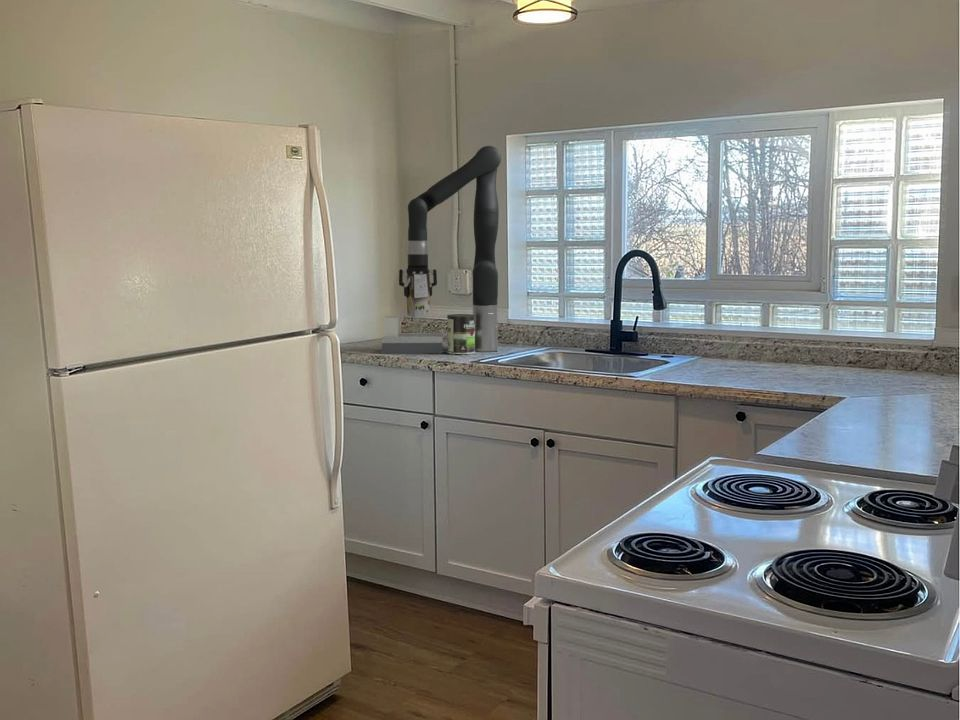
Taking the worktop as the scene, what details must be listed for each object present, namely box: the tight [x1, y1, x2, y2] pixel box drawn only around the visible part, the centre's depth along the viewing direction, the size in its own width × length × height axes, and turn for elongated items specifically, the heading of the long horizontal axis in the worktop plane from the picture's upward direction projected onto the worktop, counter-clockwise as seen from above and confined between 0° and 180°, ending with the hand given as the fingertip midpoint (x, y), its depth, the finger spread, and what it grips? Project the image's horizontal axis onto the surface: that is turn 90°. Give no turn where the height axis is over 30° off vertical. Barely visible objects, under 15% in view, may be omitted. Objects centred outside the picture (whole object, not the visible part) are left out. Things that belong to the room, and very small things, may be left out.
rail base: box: [381, 339, 444, 355], centre depth 338 cm, size 22×14×4 cm, turn 92°
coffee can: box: [446, 313, 476, 356], centre depth 333 cm, size 10×10×14 cm
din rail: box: [381, 332, 444, 344], centre depth 338 cm, size 22×13×2 cm, turn 92°
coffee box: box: [406, 273, 431, 318], centre depth 336 cm, size 9×6×16 cm
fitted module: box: [383, 315, 400, 337], centre depth 337 cm, size 5×9×8 cm, turn 2°
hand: (418, 297), depth 336 cm, fingers closed on coffee box, 8 cm apart
